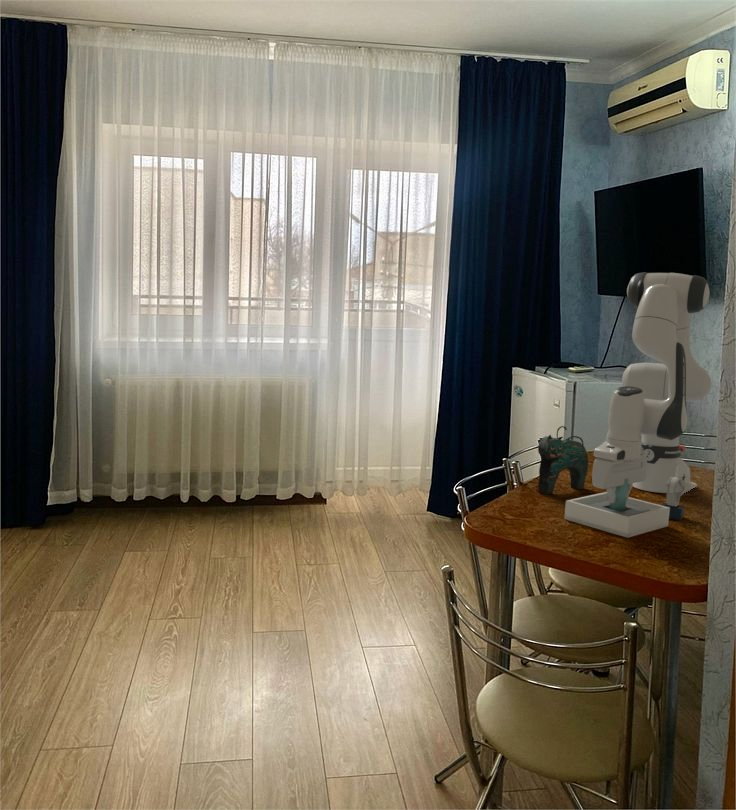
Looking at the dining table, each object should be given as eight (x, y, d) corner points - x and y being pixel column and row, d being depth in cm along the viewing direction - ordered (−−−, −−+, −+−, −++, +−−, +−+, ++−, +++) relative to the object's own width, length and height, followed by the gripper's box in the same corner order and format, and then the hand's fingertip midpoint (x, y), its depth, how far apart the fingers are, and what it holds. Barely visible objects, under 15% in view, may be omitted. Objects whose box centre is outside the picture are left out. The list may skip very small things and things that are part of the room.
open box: (605, 509, 234) (607, 491, 233) (668, 526, 220) (669, 507, 219) (564, 519, 222) (565, 500, 221) (627, 537, 208) (629, 518, 207)
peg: (614, 511, 223) (618, 474, 222) (627, 515, 220) (631, 478, 219) (605, 513, 221) (609, 476, 219) (619, 517, 218) (622, 479, 216)
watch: (684, 515, 232) (689, 476, 230) (679, 521, 225) (683, 481, 223) (663, 511, 234) (667, 473, 233) (657, 518, 228) (661, 478, 226)
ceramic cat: (545, 496, 245) (551, 429, 242) (529, 491, 251) (534, 425, 248) (589, 489, 257) (595, 425, 254) (573, 484, 262) (578, 421, 259)
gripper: (634, 443, 227) (629, 493, 229) (589, 450, 214) (585, 503, 216) (655, 447, 222) (650, 498, 224) (611, 455, 209) (606, 509, 211)
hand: (618, 501), depth 220 cm, fingers closed on peg, 4 cm apart
